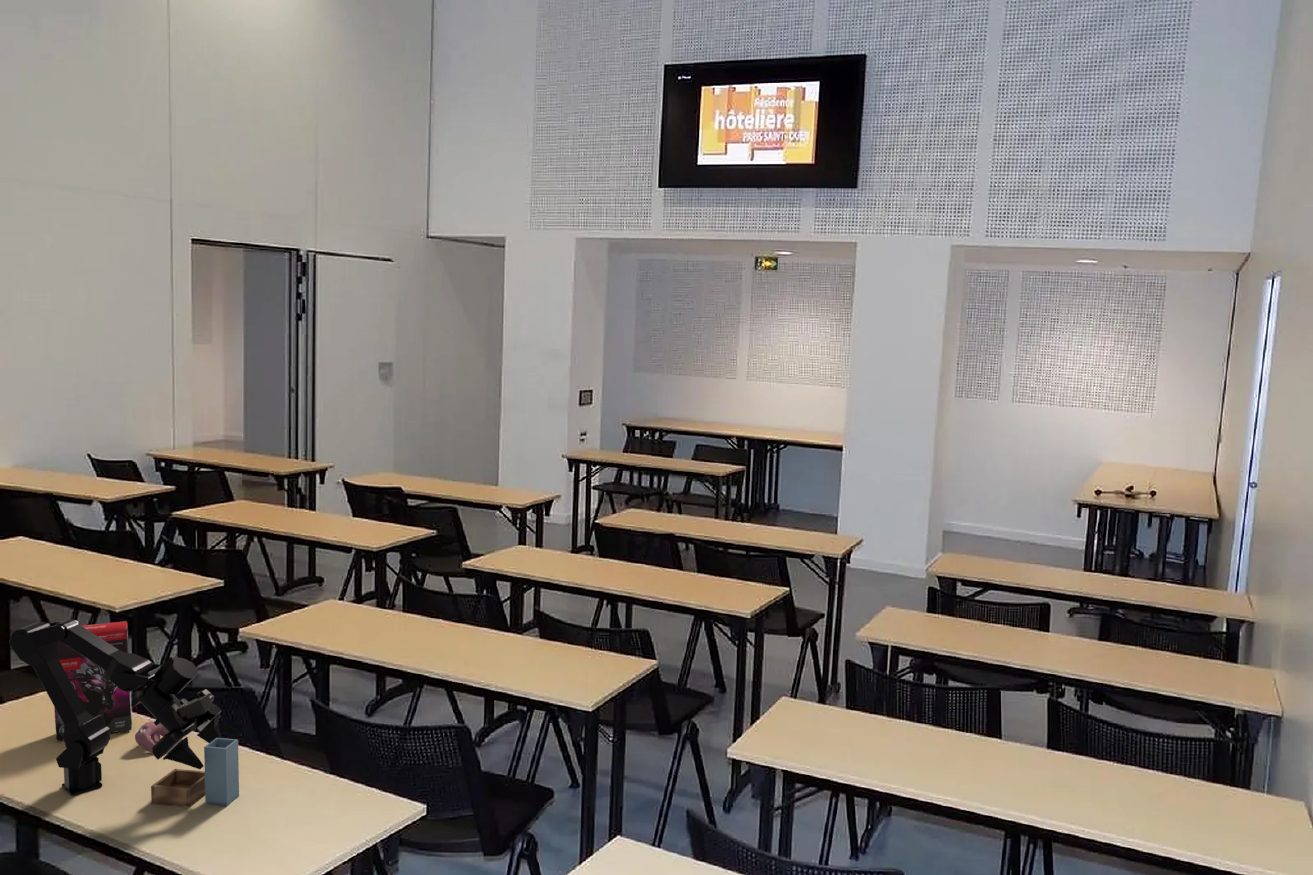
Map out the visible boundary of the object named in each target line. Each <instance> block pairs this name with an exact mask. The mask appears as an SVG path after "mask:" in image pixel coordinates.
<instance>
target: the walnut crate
mask: <svg viewBox="0 0 1313 875" xmlns="http://www.w3.org/2000/svg"><path fill="white" fill-rule="evenodd" d="M150 794H151V795H150V797H151V804H152V805H160V806H161V805H162V806H172V807H180V808H181V807H184V808H191V807H192V806H193V805H195V804H196V803H197V802H198V801H200V800H201V799H202V798H203V797H205V770H194V769H182V768H181V769H180V768H174V769H172V770H171V771H170V772H168V773H167V774H166V775H164V776H163V777H162V778H160V779H159V780H157V781H156V782H155V783H153V784H152V785H151V786H150Z"/></svg>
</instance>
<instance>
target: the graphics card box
mask: <svg viewBox="0 0 1313 875" xmlns="http://www.w3.org/2000/svg"><path fill="white" fill-rule="evenodd" d="M81 626H82V627H84V628H86V629H87V630H89V631H90V632H92V633H93V634H95V635H96V636H98V637H99V638H101V639H103V640H104V641H106V642H107V643H109V644H110V645H112V646H113V647H115V648H117V649H118V650H120V651H122V652H125V653H130V650H129V648H130V647H129V628H128V621H127V620H123V621H118V622H117V621H115V622H106V623H97V624H96V623H94V624H85V625H81ZM57 657H58V659H59V661H60V663H61V665H62V667H63V669H64V670H65V672H66V674H67V676H68V678H69V680H70V682H71V683H72V685H73V687H74V689H75V691H76V693H77V694H78V696H79V698H80V700H81V702H82V704H83V706H84V707H85V709H86V711H87V712H88V713H89V714H91V715H92V716H94V717H96V716H98V715H101V716H102V717H103V719H104V722H105V724H106V726H107V727H108V728H109V729H110V730H109V731H108V732H109V734H113V733H114V734H115V733H120V732H126V731H131V730H132V729H133V728H132V726H133V721H132V720H133V719H132V717H133V716H132V713H133V712H132V707H131V701H132V693H131V692H132V691H130V692H125V691H122V690H121V689H119V688H118V687H117V686H116V685H115V684H114V683H113V682H111V681H110V679H109V677H108V675H107V673H106V671H105V670H104V669H102V668H101V667H100V666H98V665H96V664H95V663H93V662H92V661H90V660H89V659H87V658H86V657H84V656H83V655H81V654H79V653H78V652H76V651H75V650H73V649H72V648H70V647H69V646H67V645H66V644H64V643H62V642H61V641H58V642H57ZM54 722H55V736H56V738H55V739H56V742H57V741H64V739H63V738H64V724H63V722H62V720H61V718H60V716H59V714H58V712H57V710H56V709H55V707H54Z"/></svg>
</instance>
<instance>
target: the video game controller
mask: <svg viewBox="0 0 1313 875" xmlns="http://www.w3.org/2000/svg"><path fill="white" fill-rule="evenodd" d="M155 721H156V720H151V721H148V722H145V723H143V725H141V726H140V728H139V730H138V731H137V732H136V733H135V735H134V739H135V741H136V742H135V743H137V745H139V746H141V748H142V749H144V750H145V751H146V752H148V753H151V754H152V747H153V746H154V745H155V744H156V743H157V742H158V741H159V740H160V739H161V737H163V736H164V735H165V734H167V733H168V731H167V730H166V729H165V728H164V727H163V726H162V725H161V724H159V725H157V726H156V725H155V724H154V722H155Z"/></svg>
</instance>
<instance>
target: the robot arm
mask: <svg viewBox="0 0 1313 875" xmlns="http://www.w3.org/2000/svg"><path fill="white" fill-rule="evenodd" d="M82 626H83V625H81V624H80V623H79V621H78V620H76V619H73V618H68V619H65V620H59V621H58V620H57V621H53V622H44V621H40V620H39V621H35V622H33V623H31V624H27V625H26V626H24V627H21V628H18V629H15V631H13V632H12V633H11V636H10V639H9V645H10V648H11V650H12V651H13V652H14V653H15V655H16V657H18V659H19V660H20V661H21V662H24V663H25V664H27V665H28V666H31V667H32V668H33V669H34V672H35V674H36V676H37V678H38V679H39V681H40V682H41V685H42V686H43V688H44V690H45V693H46V694H47V695H48V697H49V699H50V702H51V703H52V705H53V706H54V707H55V708H54V710H55V709H56V710H57V712H58V714H59V716H60V718H61V720H62V722H63V724H64V738H63V739H64V740H63V742H64V745H65V747H66V748H65V749H64V750H63V751H62V752H61V753H60V754H59V755H58V756H57V757H56V758H55V760H56V764H57V767H58V768H59V769H60V768H62V769H63V778H64V780H63V781H64V783H62V784H61V788H63V789H64V790H65V792H67V793H68V794H69V795H70V796H75V795H78V794H82V793H85V792H88V791H91V790H95V789H99V788H101V787H103V783H102V778H103V775H102V773H103V772H102V763H101V762H99V761H100V760H99V757H98V756H101V755H102V754H103V753H104V750H105V748H106V747H107V746H108V744H109V741H110V738H111V735H110V733H109V732H108V731H109V730H110V729H109V728H108V727H107V726H106V724H105V722H104V719H103V717H102V716H101V715H98V716H96V717H94V716H92V715H91V714H89V713H88V712H87V711H86V709H85V707H84V706H83V704H82V702H81V700H80V698H79V696H78V694H77V693H76V691H75V689H74V687H73V685H72V683H71V682H70V680H69V678H68V676H67V674H66V672H65V670H64V669H63V667H62V665H61V663H60V661H59V659H58V657H57V642H58V641H61V642H62V643H64V644H66V645H67V646H69V647H70V648H72V649H73V650H75V651H76V652H78V653H79V654H81V655H83V656H84V657H86V658H87V659H89V660H90V661H92V662H93V663H95V664H96V665H98V666H100V667H101V668H102V669H104V670H105V671H106V673H107V675H108V677H109V679H110V681H111V682H113V683H114V684H115V685H116V686H117V687H118V688H119V689H121V690H122V691H125V692H130V691H131V692H133V693H131V708H135V707H136V706H137V705H139V704H141V705H142V706H143V707H144V708H146V710H147V711H148V712H149V713H150V714H151V715H152V716H153V717H154V719H155V720H154V721H155V722H154V724H155V725H156V726H157V725H159V724H161V725H162V726H163V727H164V728H165V729H166V730H167V731H168V733H167V734H165V735H164V736H161V737H160V740H159V741H158V742H157V743H155V745H154V746H153V747H152V753H151V755H153V757H155V759H156V760H157V761H158V760H160V759H161V758H162V760H164V761H165V760H169V761H172V762H176V763H179V764H183V765H186V766H189V767H192V768H194V769H197V770H201V769H202V768H204V767H205V764H203V762H202V761H201V759H200V758H199V757H198V756H197V755H196V753H195V752H194V751H193V749H191V746H190V745H189V737H188V735H190V734H191V733H192V732H197V734H196V736H197V737H198V738H200V739H202V740H203V741H205V742H206V743H207V744H209V743H210V742H212V741H213V740H215V739H216V738H223V736H222V733H221V731H220V727H219V721H220V720H219V719H220V717H221V712H222V710H221V708H220V707H219V706H218V705H217V704H213V702H214V700H215V696H214V695H213V694H212V693H211V692H210V691H209V690H208V689H206V688H205V689H202V690H200V691H199V692H197V693H196V698H195V699H192V700H191V701H188V700H187V699H186V698H181V699H179V698H177V697H176V695H178V694H180V693H181V691H183V689H184V688H186V687H187V685H189V683H191V681H193V680H194V679H195V678H196V677H197V674H198V670H197V669H198V668H197V667H196V666H195V664H194V662H192V661H190V660H188V659H186V658H183V657H178V655H177V654H173V655H171V656H170V657H168V658H167V659H166V660H165V663H164V664H158V663H154V662H152V661H150V660H149V659H148V658H145V657H143V656H141V655H139V654H137V653H132V652H131V653H130V652H129V653H125V652H122V651H120V650H118V649H117V648H115V647H113V646H112V645H110V644H109V643H107V642H106V641H104V640H103V639H101V638H99V637H98V636H96V635H95V634H93V633H92V632H90V631H89V630H87V629H86V628H84V627H82ZM153 681H154V683H151V682H153ZM140 687H143V688H142V689H141V690H137V689H138V688H140ZM135 690H137V691H135ZM134 691H135V692H134Z"/></svg>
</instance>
